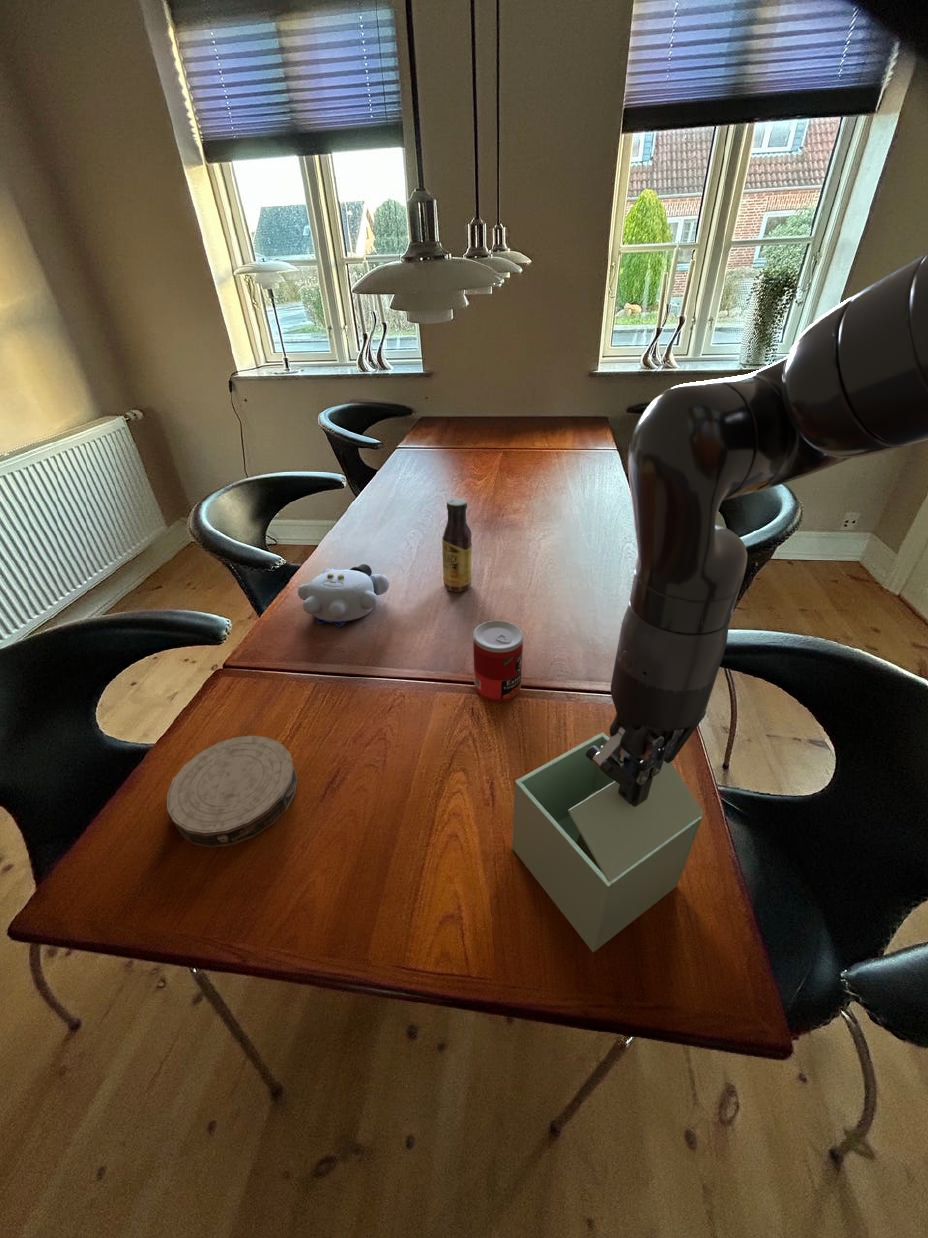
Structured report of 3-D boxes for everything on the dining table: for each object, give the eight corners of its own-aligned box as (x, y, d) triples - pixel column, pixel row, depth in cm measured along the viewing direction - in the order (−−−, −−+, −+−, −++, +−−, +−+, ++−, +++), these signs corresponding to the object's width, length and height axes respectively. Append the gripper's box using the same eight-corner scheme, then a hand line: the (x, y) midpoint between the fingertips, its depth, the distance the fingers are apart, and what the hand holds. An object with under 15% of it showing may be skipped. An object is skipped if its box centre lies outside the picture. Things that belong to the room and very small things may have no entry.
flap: (702, 813, 53) (704, 813, 53) (607, 882, 47) (610, 882, 47) (661, 751, 55) (664, 750, 55) (567, 810, 50) (569, 809, 49)
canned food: (509, 709, 84) (511, 654, 78) (465, 693, 88) (463, 640, 81) (528, 680, 90) (531, 627, 84) (486, 667, 93) (485, 615, 87)
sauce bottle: (438, 585, 117) (432, 500, 106) (460, 576, 120) (457, 492, 109) (456, 597, 113) (452, 509, 102) (478, 587, 116) (477, 501, 105)
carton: (677, 885, 60) (702, 817, 53) (593, 953, 54) (608, 887, 47) (591, 798, 70) (602, 732, 63) (512, 848, 64) (514, 781, 57)
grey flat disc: (183, 764, 77) (176, 749, 75) (296, 739, 80) (291, 725, 79) (163, 862, 64) (155, 848, 62) (298, 828, 68) (293, 813, 66)
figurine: (363, 637, 101) (403, 594, 118) (359, 597, 97) (400, 558, 114) (284, 625, 105) (332, 585, 122) (276, 586, 101) (328, 550, 118)
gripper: (644, 718, 36) (611, 863, 45) (763, 651, 41) (710, 792, 51) (569, 660, 41) (554, 801, 51) (683, 607, 47) (649, 743, 56)
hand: (632, 797), depth 51 cm, fingers closed
